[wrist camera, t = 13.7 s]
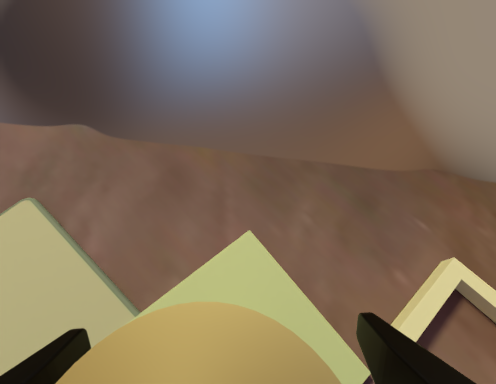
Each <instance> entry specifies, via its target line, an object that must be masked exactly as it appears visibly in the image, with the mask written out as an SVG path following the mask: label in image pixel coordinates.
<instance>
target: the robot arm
mask: <svg viewBox="0 0 496 384" xmlns="http://www.w3.org/2000/svg"><path fill="white" fill-rule="evenodd" d="M356 334H357V339H358V342H359V345H360V347H361V350H362V352H363V355H364V357H365V360H366V362H367V365H368V367H369V370H370V372H371V375H372V377H373V380H374V382H375V384H476V383H475V382H473V381H472V380H470V379H469V378H467V377H466V376H464V375H463V374H461V373H460V372H458V371H457V370H456V369H454V368H453V367H451V366H450V365H448V364H447V363H445V362H444V361H442V360H441V359H439V358H438V357H437V356H435V355H434V354H432V353H431V352H429V351H428V350H426V349H425V348H423V347H422V346H420V345H419V344H417V343H416V342H415V341H413V340H412V339H410V338H409V337H407V336H406V335H404V334H403V333H401V332H400V331H398V330H397V329H396V328H394V327H393V326H391V325H390V324H388V323H387V322H385V321H384V320H382V319H381V318H379V317H378V316H376V315H375V314H373V313H370V312H368V313H360V314H359V315H358V322H357V331H356ZM90 349H91V345H90V341H89V337H88V333H87V330H86V329H84V328H77V329H71V330H69V331H67V332H66V333H64V334H63V335H61V336H60V337H58V338H57V339H55V340H54V341H52V342H51V343H49V344H48V345H46V346H45V347H43V348H42V349H40V350H39V351H37V352H35V353H34V354H32V355H31V356H29V357H28V358H26V359H25V360H23V361H22V362H20V363H19V364H17V365H16V366H14V367H13V368H11V369H10V370H8V371H7V372H5V373H4V374H2V375H1V376H0V384H55V383H56V382H57V381H58V380H59V379H60V378H61V377H62V376H63V375H64V374H65V373H66V372H67V371H68V370H69V369H70V367H71V366H72V365H73V364H74V363H75V362H77V361H78V360H79V359H80V358H81V357H82V356H83V355H85V354H86V353H87V352H88V351H89V350H90Z"/></svg>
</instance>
